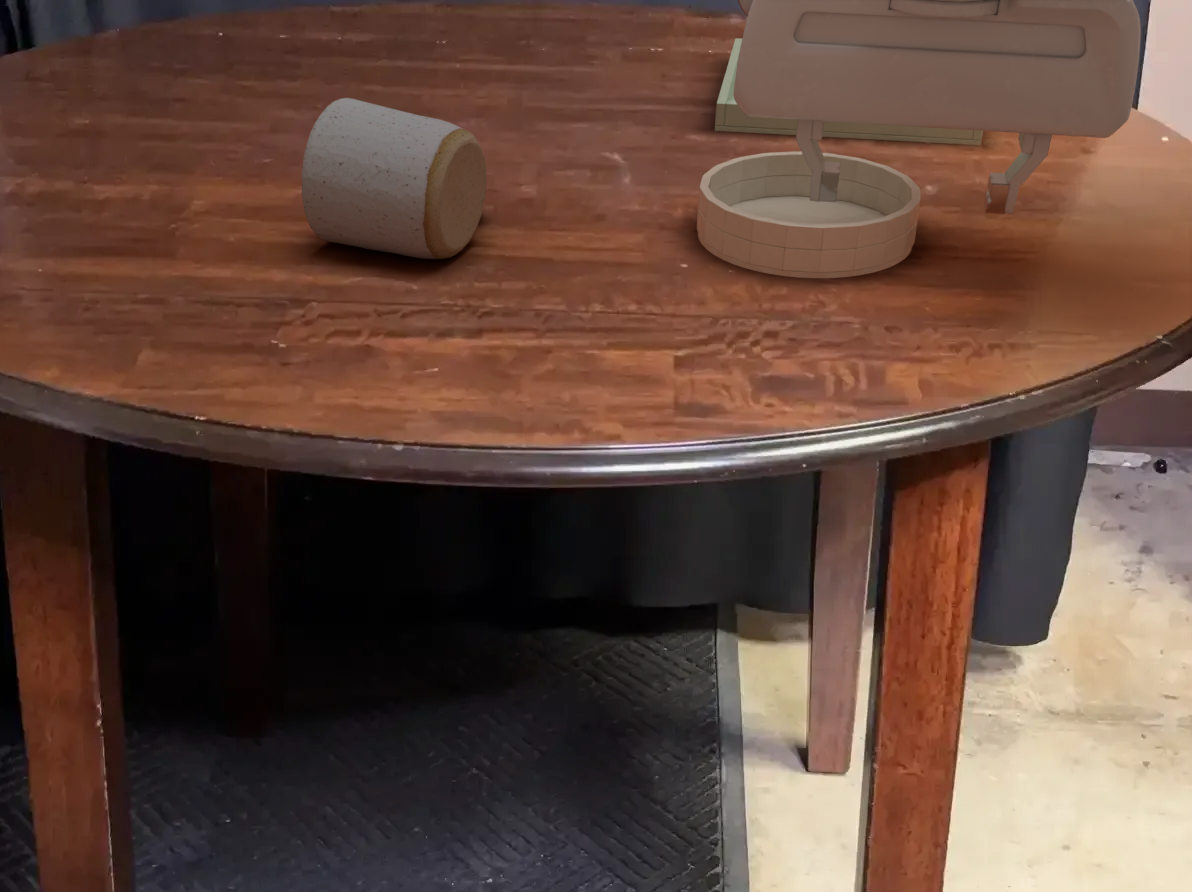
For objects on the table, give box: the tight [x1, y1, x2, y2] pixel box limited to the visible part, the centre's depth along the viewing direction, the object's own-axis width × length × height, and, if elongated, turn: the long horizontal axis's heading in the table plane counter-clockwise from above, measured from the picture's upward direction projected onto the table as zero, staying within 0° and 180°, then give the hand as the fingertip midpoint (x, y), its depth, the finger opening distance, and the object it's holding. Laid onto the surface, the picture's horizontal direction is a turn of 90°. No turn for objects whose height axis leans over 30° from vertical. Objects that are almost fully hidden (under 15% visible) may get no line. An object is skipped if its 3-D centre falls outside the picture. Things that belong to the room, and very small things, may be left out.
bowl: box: [696, 150, 922, 279], centre depth 84 cm, size 12×12×3 cm
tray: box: [714, 37, 984, 146], centre depth 105 cm, size 17×16×2 cm
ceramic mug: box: [301, 97, 488, 260], centre depth 83 cm, size 11×8×8 cm
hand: (909, 204), depth 83 cm, fingers open, 8 cm apart
